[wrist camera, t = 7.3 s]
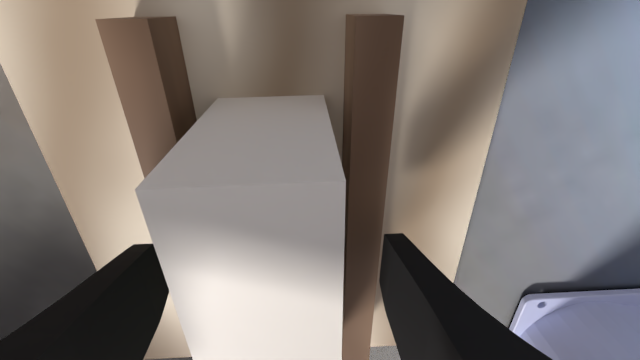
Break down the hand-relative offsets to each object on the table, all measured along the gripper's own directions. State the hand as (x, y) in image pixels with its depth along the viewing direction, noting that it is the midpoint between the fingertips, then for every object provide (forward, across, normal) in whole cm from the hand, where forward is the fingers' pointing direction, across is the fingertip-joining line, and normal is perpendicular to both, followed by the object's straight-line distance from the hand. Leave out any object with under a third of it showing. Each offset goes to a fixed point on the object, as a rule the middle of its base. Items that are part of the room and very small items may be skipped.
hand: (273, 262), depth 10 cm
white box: (+3, 0, 0) cm, 3 cm away
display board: (+4, 0, 0) cm, 4 cm away
